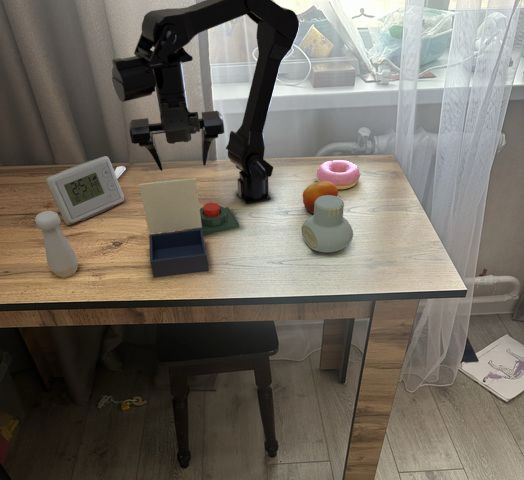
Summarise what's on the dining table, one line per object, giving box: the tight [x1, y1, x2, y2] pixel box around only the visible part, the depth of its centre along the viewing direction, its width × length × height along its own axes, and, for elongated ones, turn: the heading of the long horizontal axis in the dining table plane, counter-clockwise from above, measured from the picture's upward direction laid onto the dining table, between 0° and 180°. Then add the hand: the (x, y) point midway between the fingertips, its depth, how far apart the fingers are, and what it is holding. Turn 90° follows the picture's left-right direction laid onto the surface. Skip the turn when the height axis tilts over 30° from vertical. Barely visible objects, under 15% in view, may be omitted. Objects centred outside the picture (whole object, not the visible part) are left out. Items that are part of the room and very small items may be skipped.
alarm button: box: [202, 202, 220, 217], centre depth 112 cm, size 4×4×2 cm
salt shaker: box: [34, 210, 79, 279], centre depth 98 cm, size 6×6×13 cm
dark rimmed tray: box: [148, 229, 210, 279], centre depth 103 cm, size 10×11×4 cm
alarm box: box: [191, 205, 240, 236], centre depth 114 cm, size 10×8×3 cm
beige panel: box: [138, 177, 202, 235], centre depth 103 cm, size 10×11×4 cm
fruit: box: [302, 181, 339, 214], centre depth 116 cm, size 8×8×8 cm
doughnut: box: [315, 159, 362, 190], centre depth 126 cm, size 11×11×4 cm
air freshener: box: [301, 195, 354, 253], centre depth 104 cm, size 11×8×10 cm
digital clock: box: [45, 155, 125, 226], centre depth 117 cm, size 16×9×11 cm, turn 124°
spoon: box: [114, 165, 127, 180], centre depth 130 cm, size 5×18×1 cm, turn 171°
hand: (183, 167), depth 109 cm, fingers open, 9 cm apart
